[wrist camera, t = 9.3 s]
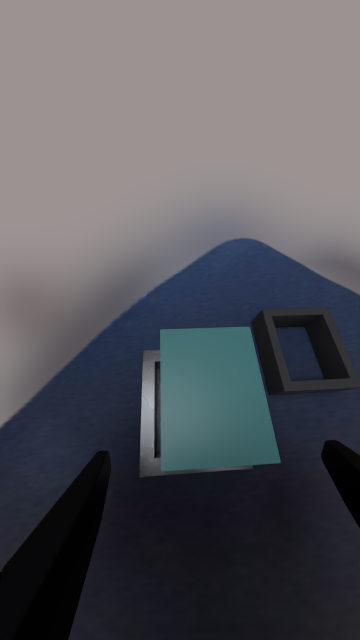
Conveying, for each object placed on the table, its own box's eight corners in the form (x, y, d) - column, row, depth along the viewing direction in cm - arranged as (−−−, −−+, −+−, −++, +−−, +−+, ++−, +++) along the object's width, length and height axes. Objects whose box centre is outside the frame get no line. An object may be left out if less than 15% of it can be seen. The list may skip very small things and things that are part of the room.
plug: (213, 434, 17) (281, 462, 6) (167, 436, 17) (161, 471, 6) (206, 376, 19) (249, 326, 9) (166, 378, 19) (160, 329, 8)
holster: (337, 391, 20) (363, 387, 17) (269, 394, 19) (285, 391, 17) (309, 320, 23) (327, 307, 21) (251, 321, 23) (262, 309, 20)
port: (238, 458, 17) (253, 468, 14) (145, 465, 16) (139, 477, 13) (222, 357, 21) (231, 347, 18) (147, 360, 20) (143, 350, 17)
